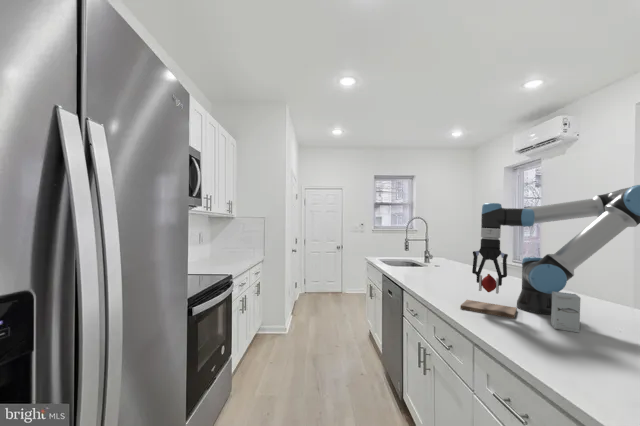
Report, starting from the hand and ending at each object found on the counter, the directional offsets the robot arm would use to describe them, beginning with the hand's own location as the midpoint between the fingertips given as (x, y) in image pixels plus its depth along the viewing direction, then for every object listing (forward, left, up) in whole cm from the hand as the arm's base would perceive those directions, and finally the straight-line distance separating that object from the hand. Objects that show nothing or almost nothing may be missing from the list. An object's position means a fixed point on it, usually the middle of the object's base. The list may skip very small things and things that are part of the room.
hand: (488, 291), depth 139 cm
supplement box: (-26, +8, -8) cm, 29 cm away
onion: (0, 0, 0) cm, 0 cm away
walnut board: (0, 0, -8) cm, 8 cm away
